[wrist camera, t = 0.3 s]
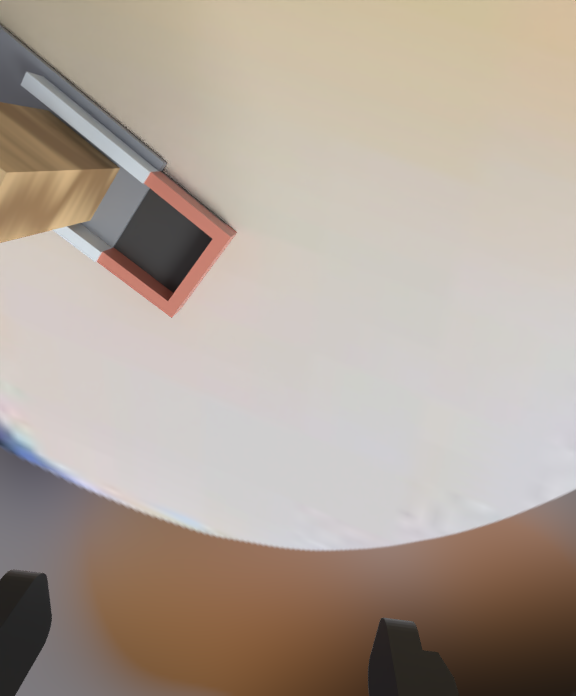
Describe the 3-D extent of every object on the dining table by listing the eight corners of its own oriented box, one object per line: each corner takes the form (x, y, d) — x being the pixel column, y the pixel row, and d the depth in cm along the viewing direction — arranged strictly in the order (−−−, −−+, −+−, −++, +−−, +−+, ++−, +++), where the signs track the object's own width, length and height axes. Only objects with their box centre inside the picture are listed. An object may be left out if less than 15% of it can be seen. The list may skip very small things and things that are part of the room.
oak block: (48, 110, 25) (-112, 82, 16) (120, 168, 26) (6, 172, 17) (21, 167, 27) (-140, 171, 18) (90, 220, 28) (-30, 250, 19)
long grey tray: (-93, -53, 23) (-129, -71, 21) (242, 225, 27) (236, 229, 26) (-133, 83, 26) (-167, 77, 24) (175, 315, 30) (165, 325, 29)
